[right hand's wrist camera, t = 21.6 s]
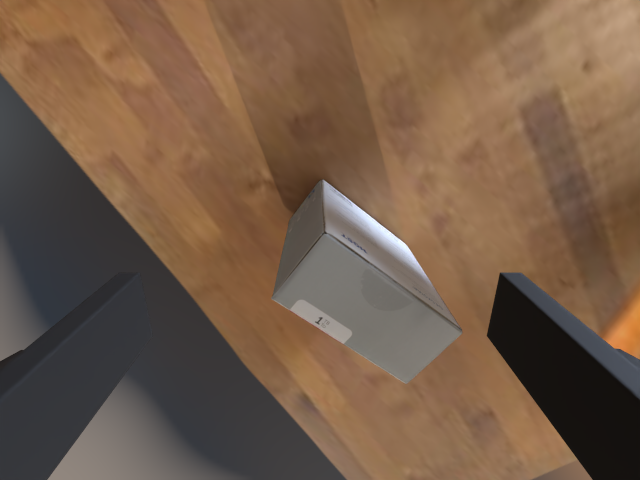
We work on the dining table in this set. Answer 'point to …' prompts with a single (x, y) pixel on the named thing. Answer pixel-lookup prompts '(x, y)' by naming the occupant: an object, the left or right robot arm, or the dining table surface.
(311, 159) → the dining table surface
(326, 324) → the hard drive box
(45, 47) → the dining table surface
